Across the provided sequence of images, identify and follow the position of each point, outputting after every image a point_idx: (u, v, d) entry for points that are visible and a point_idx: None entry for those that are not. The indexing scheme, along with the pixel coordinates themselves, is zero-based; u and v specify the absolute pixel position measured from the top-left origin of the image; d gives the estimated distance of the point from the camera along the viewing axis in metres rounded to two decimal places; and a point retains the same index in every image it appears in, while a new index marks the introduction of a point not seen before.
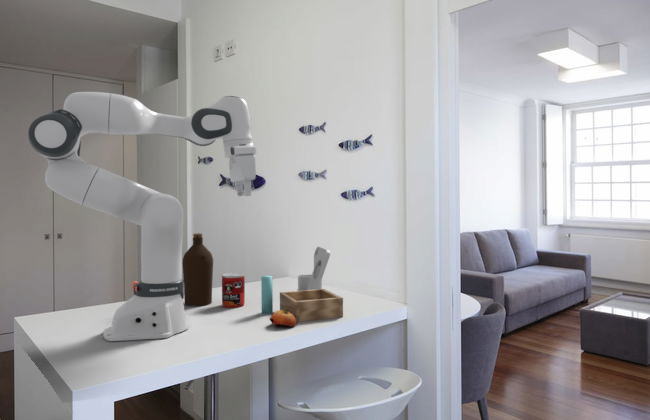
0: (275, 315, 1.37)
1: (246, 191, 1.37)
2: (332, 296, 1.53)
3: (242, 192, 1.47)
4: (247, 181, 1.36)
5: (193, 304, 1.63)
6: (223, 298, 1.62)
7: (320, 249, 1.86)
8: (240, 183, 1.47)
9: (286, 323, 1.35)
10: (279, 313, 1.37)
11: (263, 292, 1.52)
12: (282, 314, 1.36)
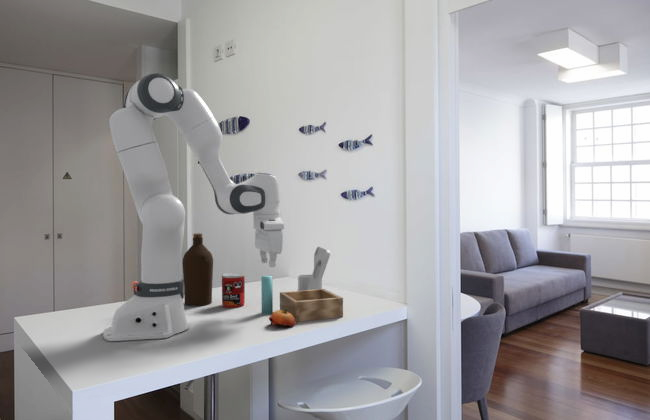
0: (274, 315, 1.37)
1: (271, 262, 1.48)
2: (332, 296, 1.53)
3: (265, 260, 1.57)
4: (273, 254, 1.47)
5: (193, 304, 1.63)
6: (223, 298, 1.62)
7: (320, 249, 1.86)
8: (264, 251, 1.58)
9: (284, 323, 1.35)
10: (278, 313, 1.37)
11: (263, 292, 1.52)
12: (281, 314, 1.37)
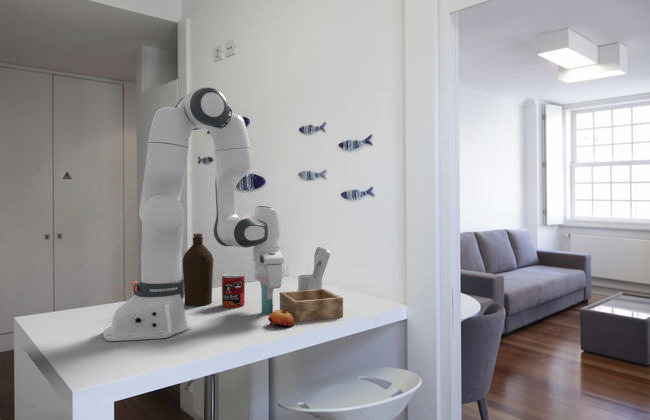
0: (273, 315, 1.37)
1: (268, 295, 1.50)
2: (332, 296, 1.53)
3: None
4: None
5: (193, 304, 1.63)
6: (223, 298, 1.62)
7: (320, 249, 1.86)
8: None
9: (283, 322, 1.35)
10: (277, 313, 1.37)
11: (263, 292, 1.52)
12: (280, 314, 1.37)
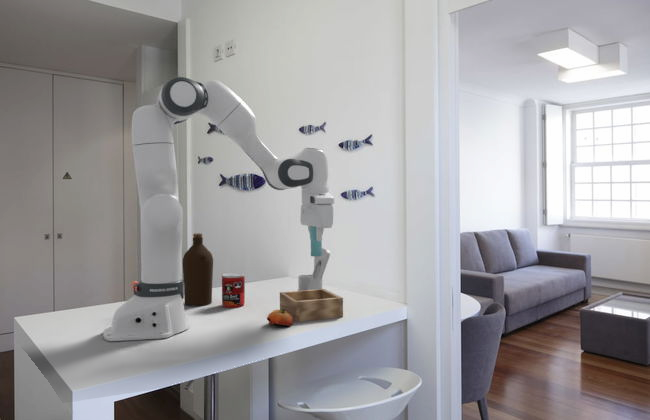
0: (272, 314, 1.37)
1: (318, 237, 1.50)
2: (332, 296, 1.53)
3: None
4: (320, 228, 1.49)
5: (193, 304, 1.63)
6: (223, 298, 1.62)
7: None
8: None
9: (282, 322, 1.36)
10: (276, 312, 1.38)
11: (312, 234, 1.52)
12: (278, 313, 1.37)
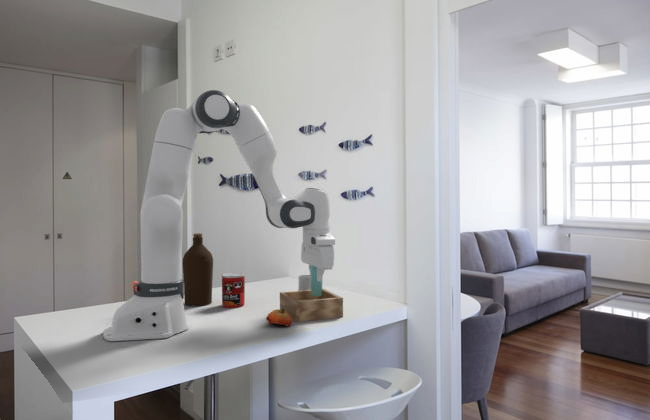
0: (271, 314, 1.38)
1: (318, 277, 1.50)
2: (332, 296, 1.53)
3: None
4: (321, 268, 1.49)
5: (193, 304, 1.63)
6: (223, 298, 1.62)
7: None
8: None
9: (281, 322, 1.36)
10: (275, 312, 1.38)
11: (313, 274, 1.52)
12: (278, 313, 1.37)
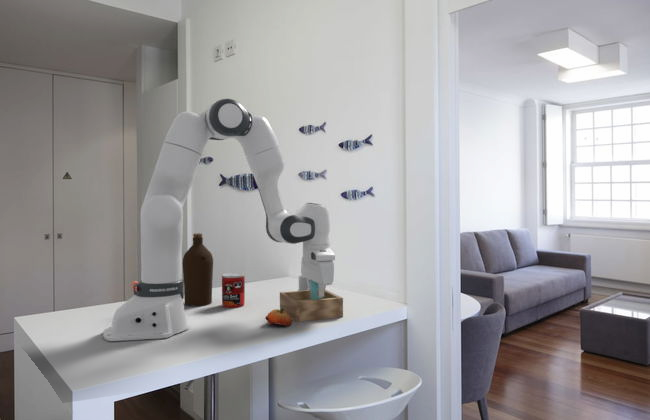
0: (270, 314, 1.38)
1: (320, 293, 1.49)
2: (332, 296, 1.53)
3: None
4: (322, 284, 1.48)
5: (193, 304, 1.63)
6: (223, 298, 1.62)
7: None
8: None
9: (280, 322, 1.36)
10: (274, 312, 1.38)
11: (313, 292, 1.52)
12: (277, 313, 1.37)
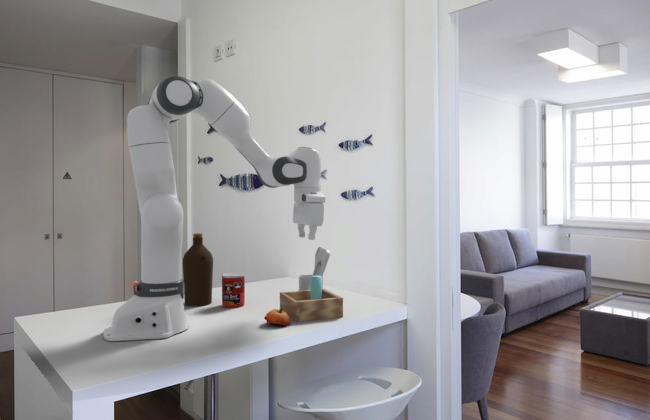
0: (269, 314, 1.38)
1: (311, 235, 1.50)
2: (332, 296, 1.53)
3: (303, 234, 1.59)
4: (313, 226, 1.49)
5: (193, 304, 1.63)
6: (223, 298, 1.62)
7: (321, 249, 1.85)
8: (302, 225, 1.60)
9: (278, 322, 1.36)
10: (273, 312, 1.38)
11: (313, 292, 1.52)
12: (275, 313, 1.38)
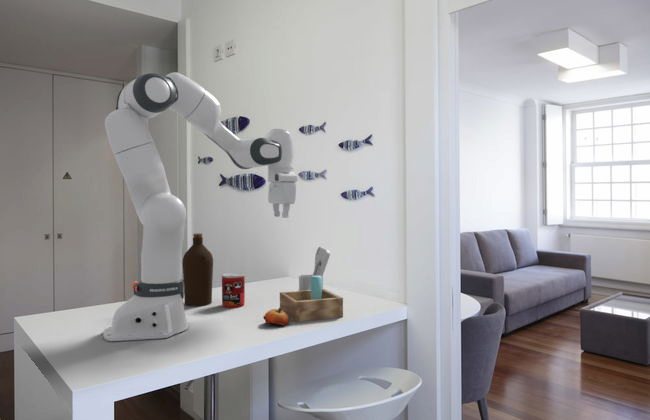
0: (267, 314, 1.38)
1: (284, 213, 1.57)
2: (332, 296, 1.53)
3: (278, 213, 1.66)
4: (286, 205, 1.56)
5: (193, 304, 1.63)
6: (223, 298, 1.62)
7: (321, 249, 1.85)
8: (277, 205, 1.67)
9: (277, 322, 1.36)
10: (272, 312, 1.39)
11: (313, 292, 1.52)
12: (274, 313, 1.38)
